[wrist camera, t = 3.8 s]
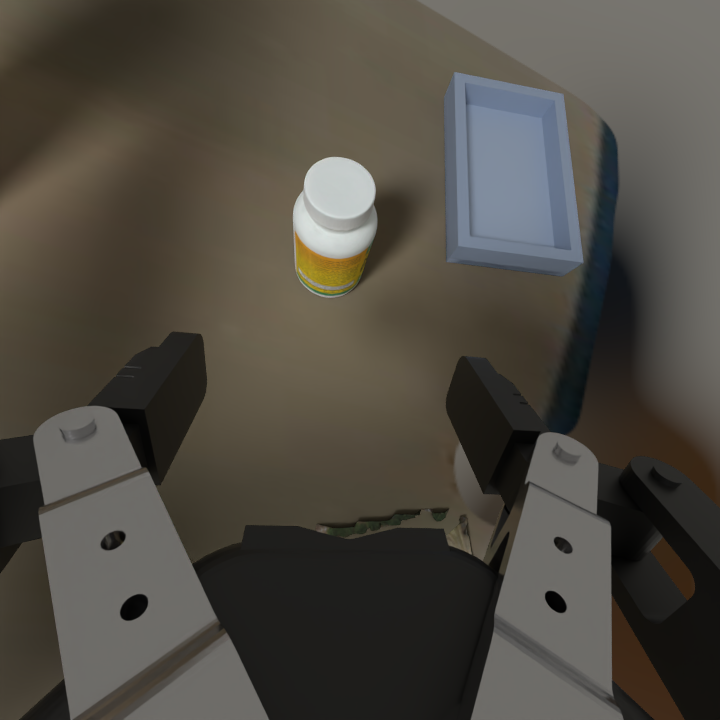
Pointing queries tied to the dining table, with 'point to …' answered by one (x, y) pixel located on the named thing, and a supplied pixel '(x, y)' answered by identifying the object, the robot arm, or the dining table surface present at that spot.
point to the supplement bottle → (334, 226)
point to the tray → (509, 178)
